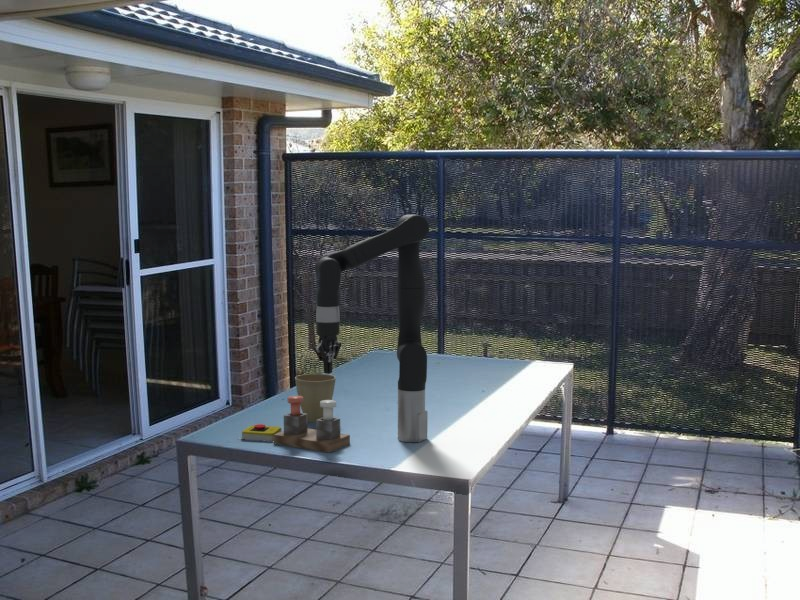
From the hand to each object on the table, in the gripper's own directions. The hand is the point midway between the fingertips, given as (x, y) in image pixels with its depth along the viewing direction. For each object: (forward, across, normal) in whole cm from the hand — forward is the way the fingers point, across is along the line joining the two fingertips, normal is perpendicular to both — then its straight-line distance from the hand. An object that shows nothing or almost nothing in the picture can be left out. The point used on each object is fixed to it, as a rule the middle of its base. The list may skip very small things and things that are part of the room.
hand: (328, 373), depth 261 cm
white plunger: (+16, 0, 0) cm, 16 cm away
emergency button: (+25, -1, +26) cm, 36 cm away
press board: (+24, 0, +6) cm, 25 cm away
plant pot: (+24, +27, +24) cm, 43 cm away
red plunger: (+16, 0, +13) cm, 21 cm away
